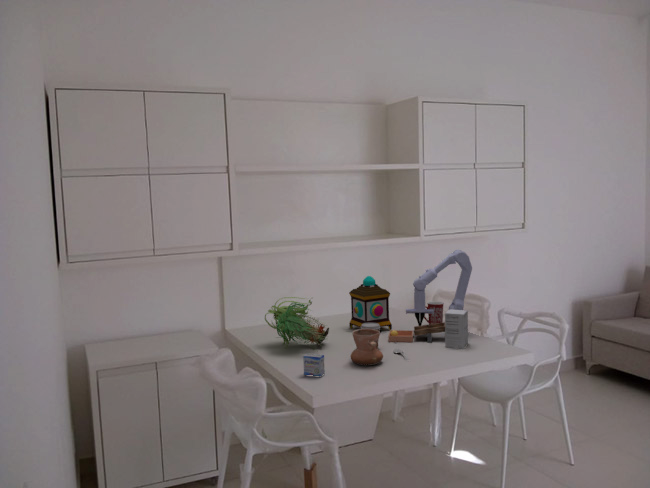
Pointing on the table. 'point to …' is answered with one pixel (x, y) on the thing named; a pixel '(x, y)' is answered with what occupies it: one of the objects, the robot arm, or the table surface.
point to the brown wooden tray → (429, 329)
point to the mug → (435, 312)
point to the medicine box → (313, 364)
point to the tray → (401, 336)
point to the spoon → (401, 353)
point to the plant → (296, 323)
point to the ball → (394, 333)
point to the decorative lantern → (370, 304)
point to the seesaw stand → (429, 337)
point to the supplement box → (456, 328)
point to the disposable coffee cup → (371, 327)
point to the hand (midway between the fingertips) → (420, 327)
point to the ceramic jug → (366, 347)
